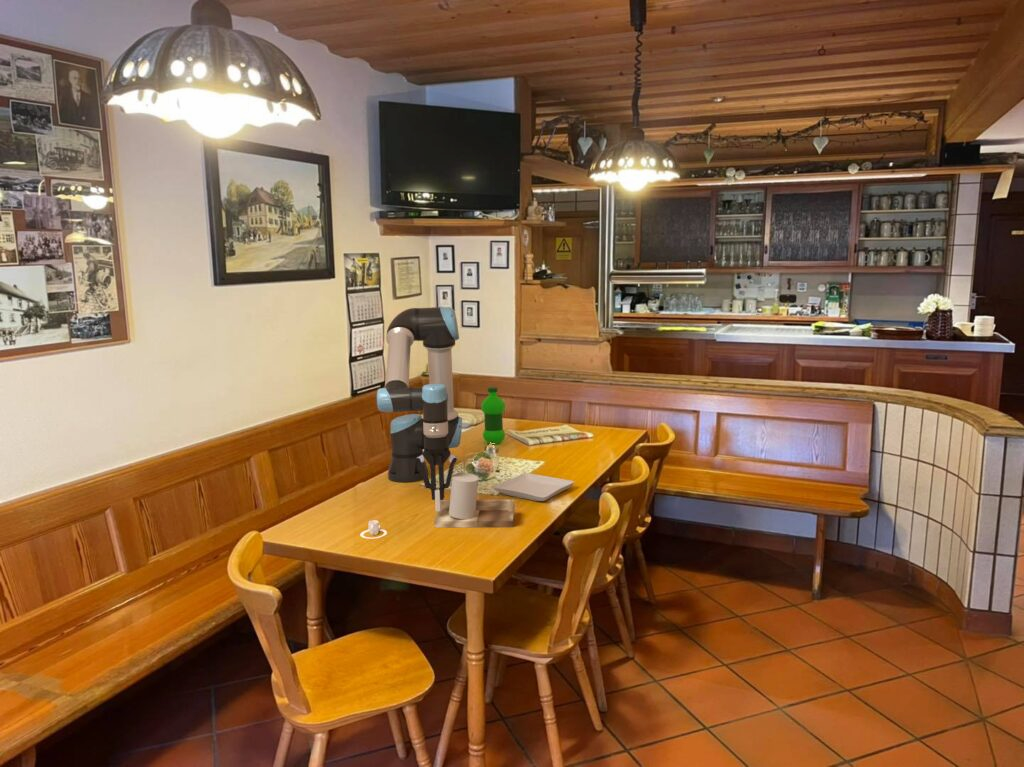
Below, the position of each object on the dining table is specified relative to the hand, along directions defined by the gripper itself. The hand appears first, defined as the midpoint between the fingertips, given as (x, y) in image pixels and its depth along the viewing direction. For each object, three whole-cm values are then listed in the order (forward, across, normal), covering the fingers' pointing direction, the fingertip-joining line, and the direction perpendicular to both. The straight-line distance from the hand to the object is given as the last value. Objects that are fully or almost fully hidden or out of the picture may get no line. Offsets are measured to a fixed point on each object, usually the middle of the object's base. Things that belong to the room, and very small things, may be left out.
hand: (438, 509), depth 228 cm
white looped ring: (+5, -16, -7) cm, 18 cm away
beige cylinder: (+2, +7, +1) cm, 7 cm away
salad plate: (+4, +29, +31) cm, 42 cm away
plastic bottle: (+2, +9, +101) cm, 102 cm away
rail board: (+4, +11, +1) cm, 12 cm away
